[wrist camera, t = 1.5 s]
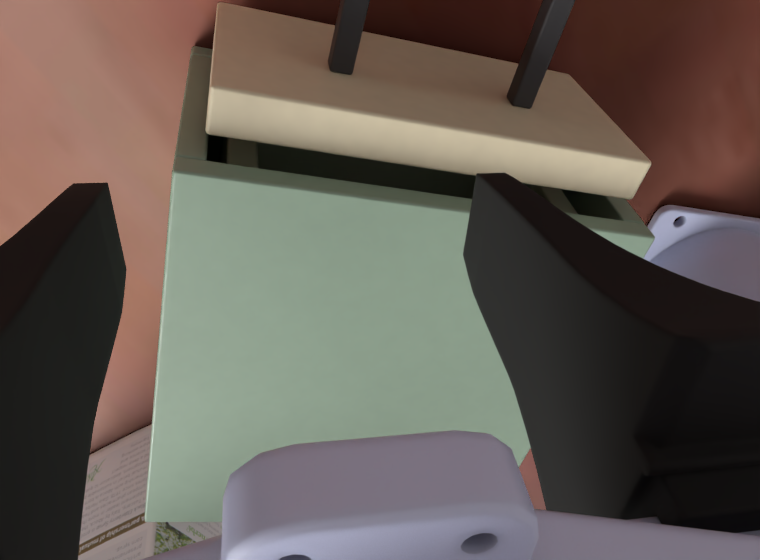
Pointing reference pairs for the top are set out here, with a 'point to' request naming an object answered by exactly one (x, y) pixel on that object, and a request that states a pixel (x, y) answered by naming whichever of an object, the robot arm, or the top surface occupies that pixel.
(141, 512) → the syrup box
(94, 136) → the top surface
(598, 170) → the drawer
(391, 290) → the cabinet
